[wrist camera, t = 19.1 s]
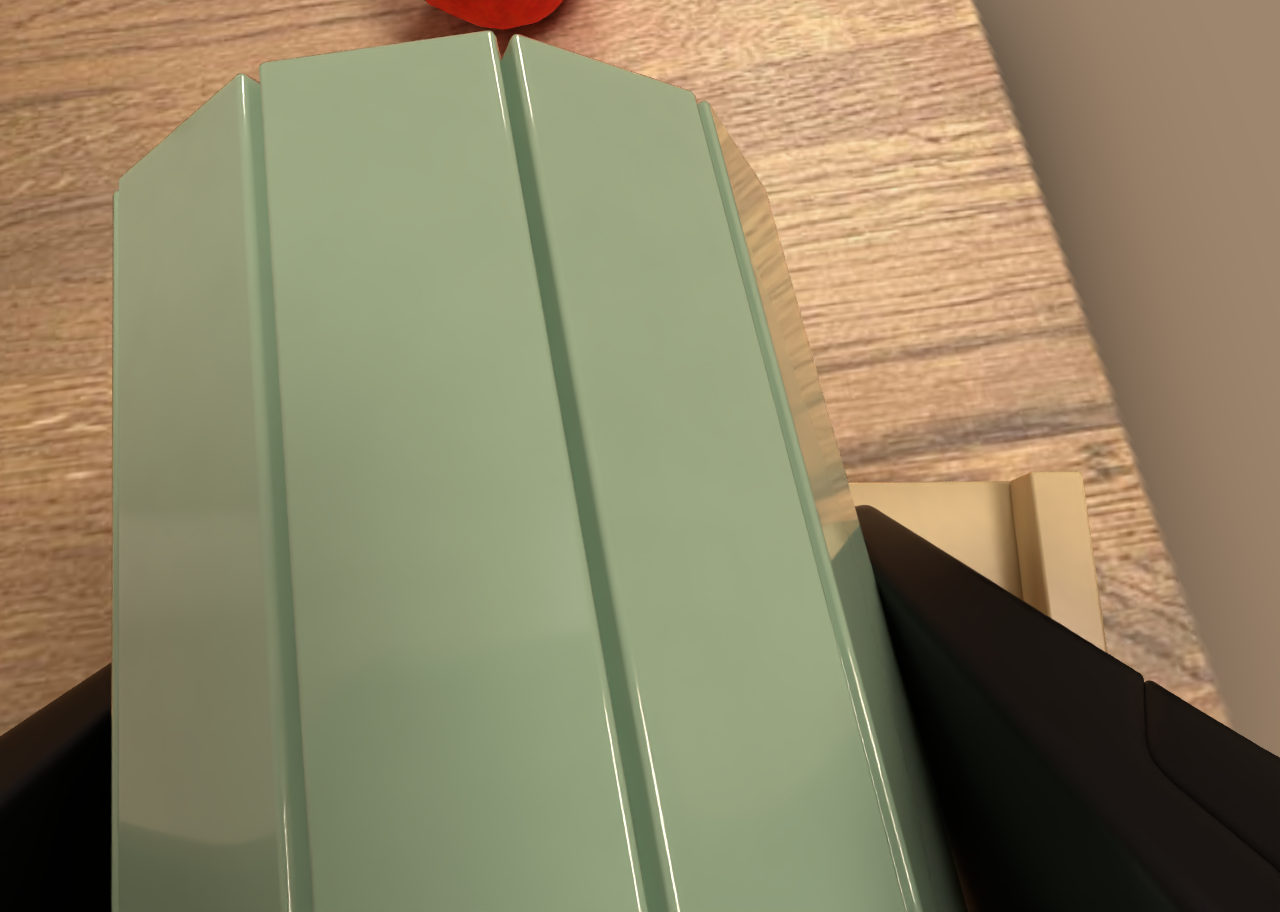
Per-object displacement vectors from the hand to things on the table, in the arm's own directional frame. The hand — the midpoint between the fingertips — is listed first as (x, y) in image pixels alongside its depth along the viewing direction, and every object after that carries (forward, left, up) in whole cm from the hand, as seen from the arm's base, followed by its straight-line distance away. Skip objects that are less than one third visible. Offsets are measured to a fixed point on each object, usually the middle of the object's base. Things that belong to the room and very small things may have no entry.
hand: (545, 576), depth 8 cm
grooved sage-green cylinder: (-2, 0, +1) cm, 2 cm away
